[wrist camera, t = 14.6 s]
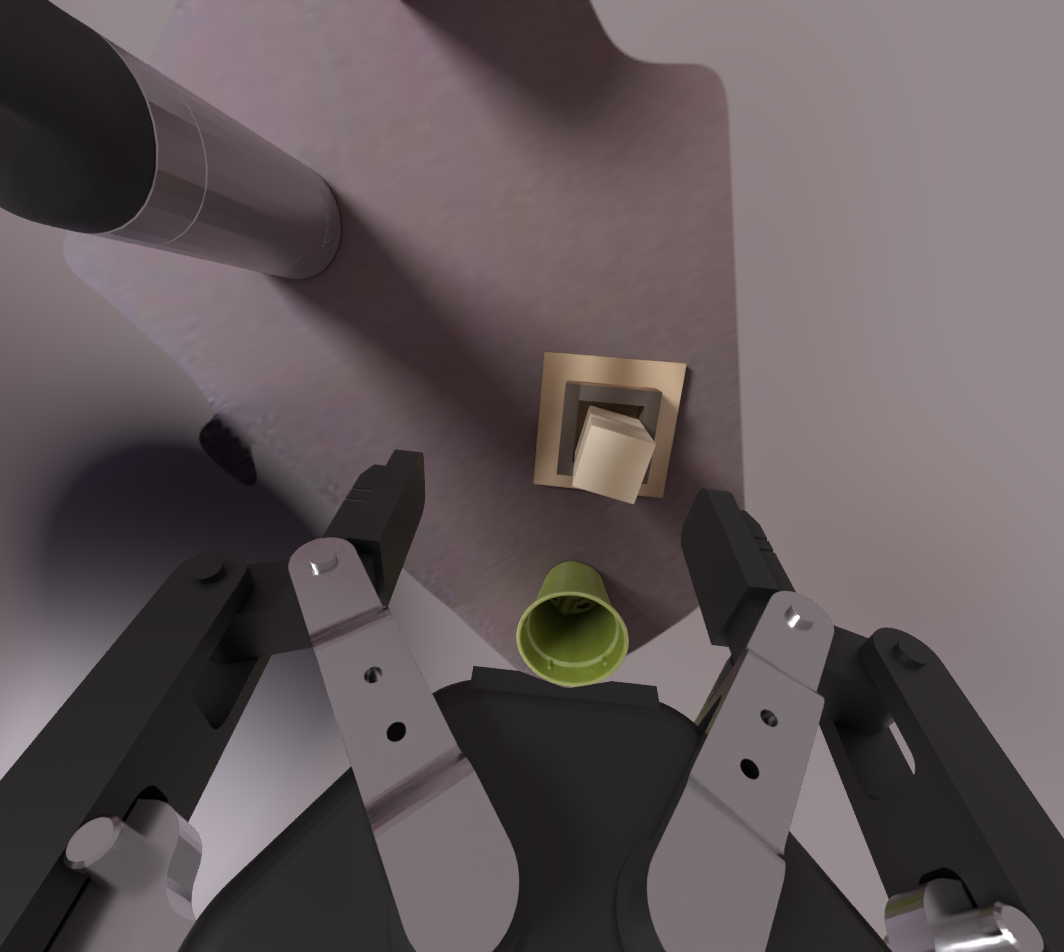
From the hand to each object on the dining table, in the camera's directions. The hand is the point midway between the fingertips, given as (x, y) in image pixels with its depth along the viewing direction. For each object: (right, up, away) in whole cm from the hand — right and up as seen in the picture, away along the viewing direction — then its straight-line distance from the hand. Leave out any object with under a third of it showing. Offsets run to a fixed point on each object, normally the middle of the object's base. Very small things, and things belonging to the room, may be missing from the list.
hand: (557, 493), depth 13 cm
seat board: (+6, +5, +27) cm, 28 cm away
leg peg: (+6, +5, +26) cm, 27 cm away
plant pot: (+4, -11, +33) cm, 35 cm away
